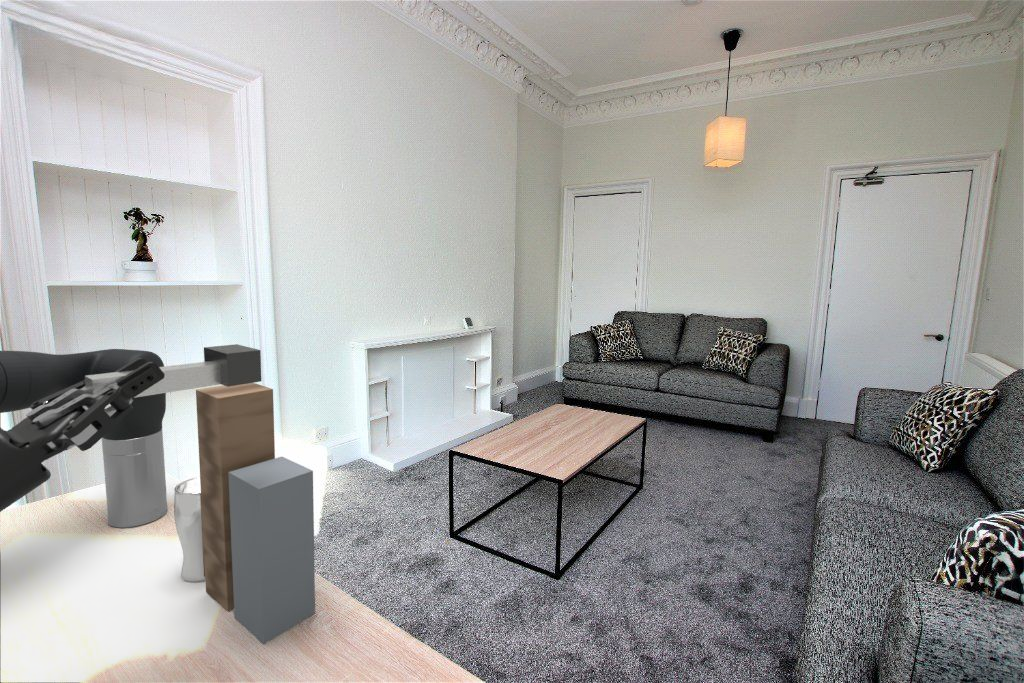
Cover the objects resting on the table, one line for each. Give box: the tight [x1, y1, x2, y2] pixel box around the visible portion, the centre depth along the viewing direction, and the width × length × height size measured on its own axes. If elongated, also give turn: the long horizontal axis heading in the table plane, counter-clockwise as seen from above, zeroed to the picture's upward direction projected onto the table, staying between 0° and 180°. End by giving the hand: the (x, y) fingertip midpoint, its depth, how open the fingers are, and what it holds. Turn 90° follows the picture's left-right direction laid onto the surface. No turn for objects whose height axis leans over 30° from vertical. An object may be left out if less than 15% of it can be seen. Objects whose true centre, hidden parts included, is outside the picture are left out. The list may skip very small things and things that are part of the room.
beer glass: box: [173, 476, 205, 583], centre depth 78 cm, size 7×7×15 cm
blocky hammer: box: [85, 343, 262, 398], centre depth 56 cm, size 6×16×4 cm, turn 145°
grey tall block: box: [228, 456, 316, 645], centre depth 68 cm, size 8×8×22 cm
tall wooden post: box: [195, 382, 276, 613], centre depth 73 cm, size 7×8×32 cm
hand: (152, 366), depth 53 cm, fingers closed on blocky hammer, 2 cm apart
